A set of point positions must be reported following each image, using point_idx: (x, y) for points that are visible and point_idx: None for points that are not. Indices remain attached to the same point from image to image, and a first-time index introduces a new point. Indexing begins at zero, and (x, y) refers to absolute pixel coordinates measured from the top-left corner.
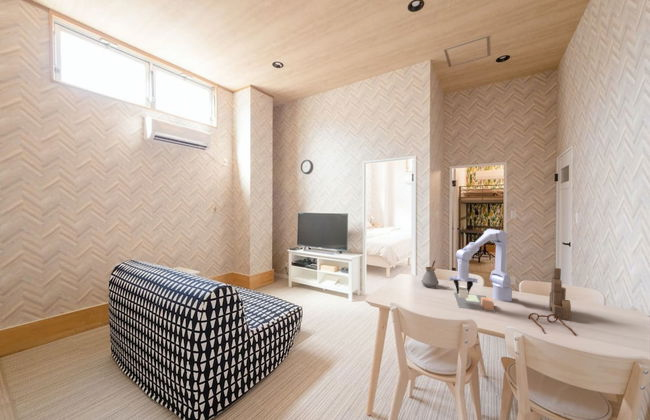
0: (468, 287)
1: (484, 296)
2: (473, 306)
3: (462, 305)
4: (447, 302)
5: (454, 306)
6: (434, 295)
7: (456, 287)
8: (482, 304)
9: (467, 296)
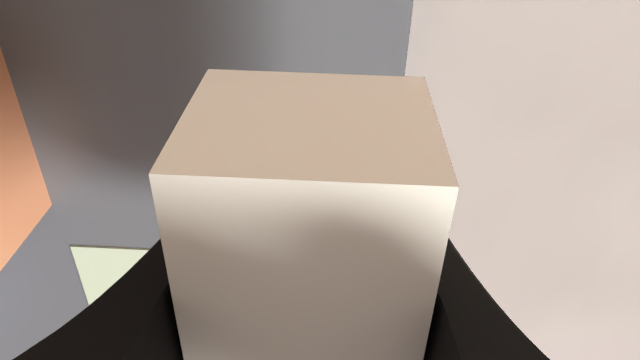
0: (113, 350)
1: None
2: (153, 69)
3: (332, 62)
4: (528, 174)
5: (462, 46)
6: (628, 344)
7: (525, 337)
8: (3, 127)
9: (216, 88)
